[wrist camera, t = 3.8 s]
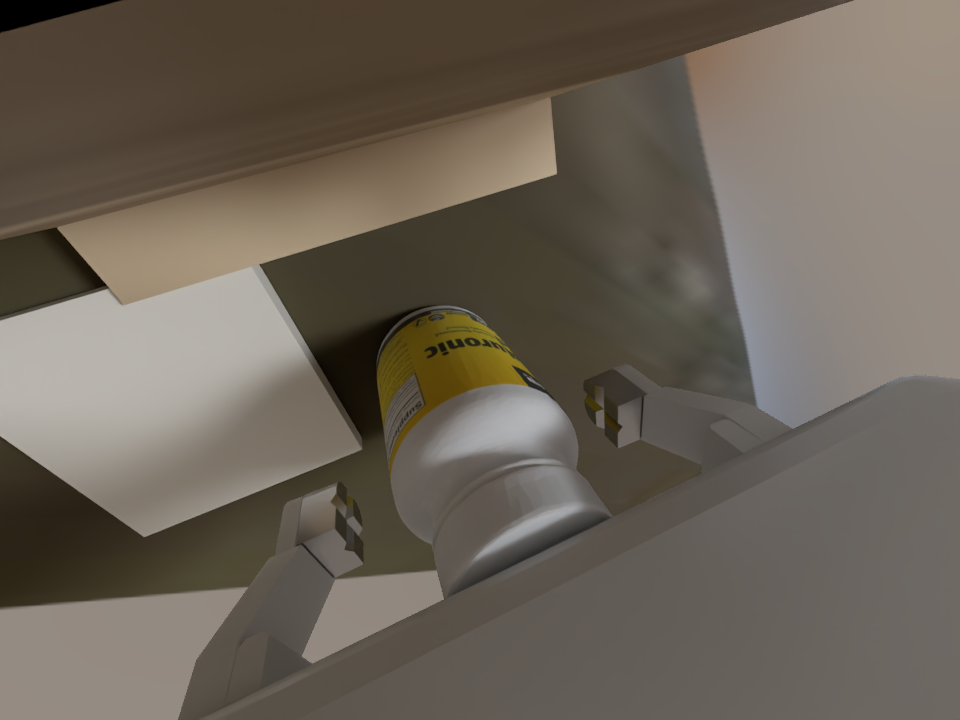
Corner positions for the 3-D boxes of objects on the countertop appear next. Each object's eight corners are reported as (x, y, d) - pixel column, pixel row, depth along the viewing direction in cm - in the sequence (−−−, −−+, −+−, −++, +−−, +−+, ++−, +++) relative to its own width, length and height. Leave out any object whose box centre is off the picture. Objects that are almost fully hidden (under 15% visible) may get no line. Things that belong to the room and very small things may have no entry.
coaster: (-85, 341, 10) (-116, 354, 9) (247, 244, 11) (241, 249, 10) (153, 520, 15) (144, 537, 14) (361, 437, 16) (362, 449, 15)
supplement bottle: (515, 325, 16) (691, 496, 8) (463, 418, 17) (563, 639, 9) (403, 279, 13) (494, 466, 5) (355, 394, 15) (366, 671, 7)
